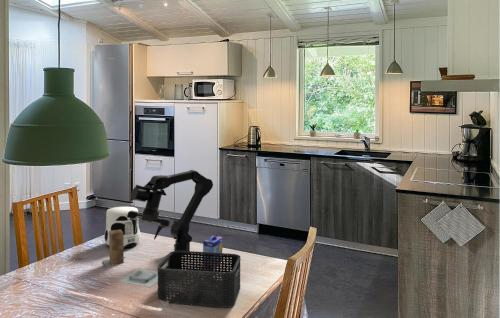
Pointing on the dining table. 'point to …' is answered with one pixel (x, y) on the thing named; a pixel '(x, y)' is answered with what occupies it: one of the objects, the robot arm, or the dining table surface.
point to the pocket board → (141, 278)
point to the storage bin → (199, 279)
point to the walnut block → (116, 247)
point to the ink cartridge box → (213, 245)
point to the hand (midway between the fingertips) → (144, 237)
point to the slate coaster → (107, 263)
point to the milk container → (122, 225)
